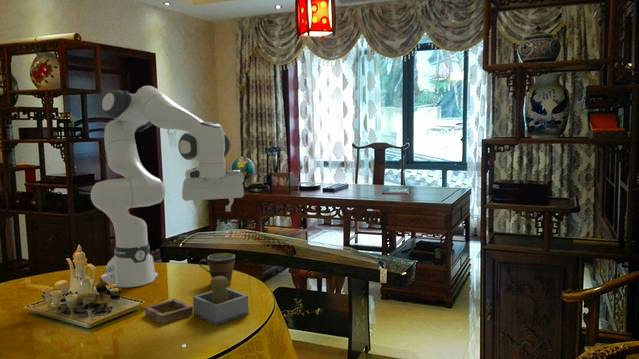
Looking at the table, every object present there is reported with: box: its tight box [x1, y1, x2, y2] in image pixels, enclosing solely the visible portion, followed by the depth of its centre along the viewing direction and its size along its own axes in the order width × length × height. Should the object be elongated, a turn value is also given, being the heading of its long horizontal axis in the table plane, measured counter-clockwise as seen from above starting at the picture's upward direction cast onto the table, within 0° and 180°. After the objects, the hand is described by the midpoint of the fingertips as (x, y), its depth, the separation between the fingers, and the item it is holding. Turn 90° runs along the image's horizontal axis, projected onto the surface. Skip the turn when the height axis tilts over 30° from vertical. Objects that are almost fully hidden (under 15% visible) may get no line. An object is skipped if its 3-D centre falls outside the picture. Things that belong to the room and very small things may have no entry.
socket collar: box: [144, 298, 194, 325], centre depth 160 cm, size 10×10×2 cm
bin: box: [192, 286, 250, 327], centre depth 160 cm, size 12×12×6 cm
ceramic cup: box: [198, 252, 236, 285], centre depth 189 cm, size 13×10×10 cm
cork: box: [210, 276, 229, 304], centre depth 159 cm, size 6×6×11 cm
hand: (214, 212), depth 173 cm, fingers open, 8 cm apart
